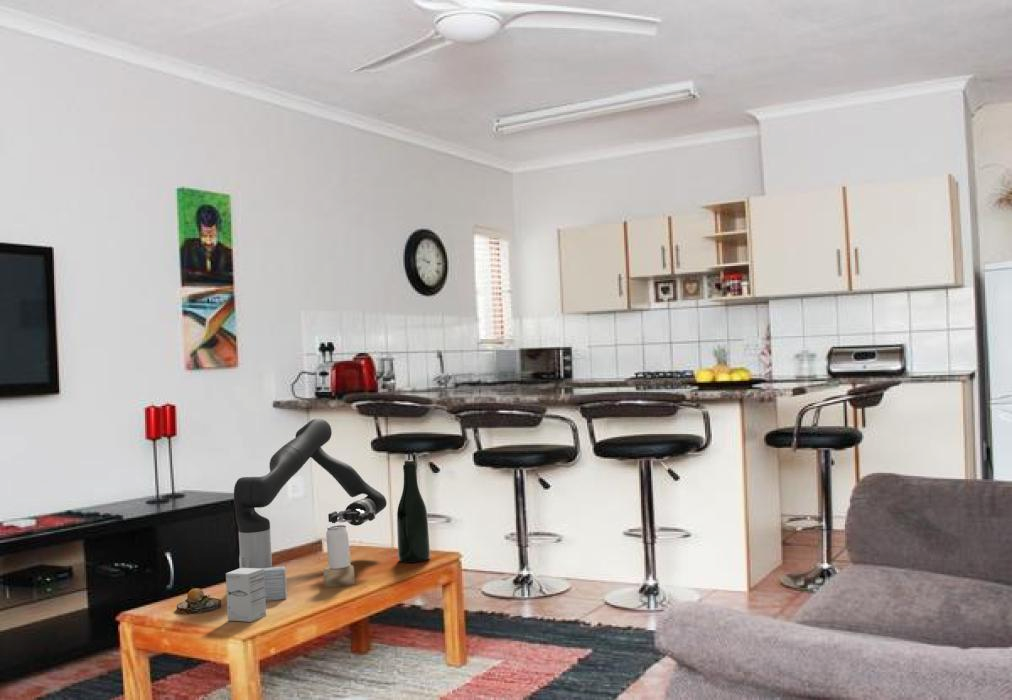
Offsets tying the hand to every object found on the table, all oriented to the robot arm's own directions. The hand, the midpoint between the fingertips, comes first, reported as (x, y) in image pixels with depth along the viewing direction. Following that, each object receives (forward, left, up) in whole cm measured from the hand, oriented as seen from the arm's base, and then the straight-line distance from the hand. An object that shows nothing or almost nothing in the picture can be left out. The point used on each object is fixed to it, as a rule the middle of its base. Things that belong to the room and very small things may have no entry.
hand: (346, 519), depth 299 cm
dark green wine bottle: (+24, +10, -18) cm, 32 cm away
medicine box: (-26, -18, -18) cm, 36 cm away
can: (-5, -10, -13) cm, 17 cm away
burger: (-46, -17, -18) cm, 52 cm away
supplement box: (-35, -36, -18) cm, 53 cm away
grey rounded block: (-5, -10, -18) cm, 21 cm away
